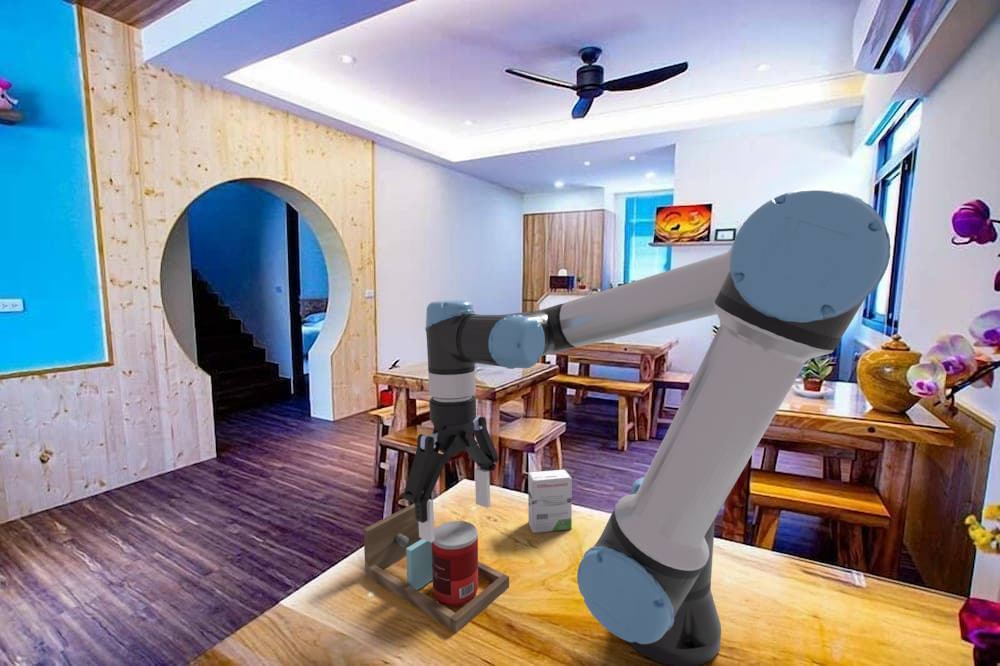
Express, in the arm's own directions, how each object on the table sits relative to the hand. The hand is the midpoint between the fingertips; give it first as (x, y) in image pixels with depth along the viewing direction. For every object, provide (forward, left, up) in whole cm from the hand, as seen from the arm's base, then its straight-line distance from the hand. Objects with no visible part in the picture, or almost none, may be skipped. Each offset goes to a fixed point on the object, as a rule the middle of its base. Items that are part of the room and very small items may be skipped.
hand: (456, 521), depth 79 cm
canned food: (0, 0, -13) cm, 13 cm away
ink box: (-1, -28, -13) cm, 31 cm away
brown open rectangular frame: (+5, 0, -13) cm, 14 cm away
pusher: (+7, 0, -13) cm, 15 cm away
